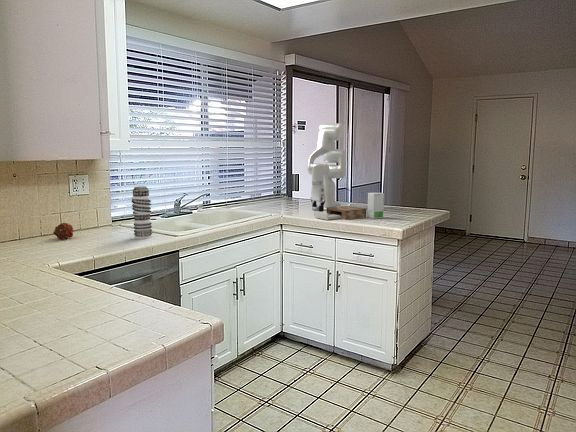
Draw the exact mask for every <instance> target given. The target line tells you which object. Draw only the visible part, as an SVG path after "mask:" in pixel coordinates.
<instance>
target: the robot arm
mask: <svg viewBox="0 0 576 432" xmlns="http://www.w3.org/2000/svg"><path fill="white" fill-rule="evenodd" d="M344 127H345V126H344V124H342V123H341V122H339V123H334V122H333V123H321V124H320V125H318V134H317V135H318V136H317V144H316V149H315V150H314V151H313V152H312V153H311V155H310V156H309V158H308V160H307V161H308V162H307V173H308V175H311V193H310V194H311V195H310V197H309V198H310V201H311V204H312V205H311V207H312V209H311V210H312V211H313V207H316V206H319V212H324V211H327V207H338V206H341V203H339V202H338V203H337V202H336V182H335V181H334V180H333V179H343V178H345V177H346V171H347V170H346V169H347V168H346V166H347V165H346V164H347V163H346V162H347V154H346V151H345V150H344V149H342V148H341V149H340V148H336V141H339V140H340V139H341V138H342V136H343V135H344V132H345V131H344V130H345V128H344ZM321 156H322V158H323V162H324V163H320V162H319V163H314V162H315V160H316V159H318V158H320V157H321ZM317 204H319V205H317Z"/></svg>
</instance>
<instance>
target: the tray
mask: <svg viewBox="0 0 576 432" xmlns="http://www.w3.org/2000/svg"><path fill="white" fill-rule="evenodd" d="M314 218H316V219H321V220H324V221H329V220H337V219H342V215H337V214H328V213H327V212H324V211H323V212H319V211H314Z"/></svg>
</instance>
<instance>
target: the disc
mask: <svg viewBox="0 0 576 432" xmlns="http://www.w3.org/2000/svg"><path fill="white" fill-rule="evenodd" d="M319 206H320V205H317V206H316V207H313V210H312V211H313V212H315V211H319Z"/></svg>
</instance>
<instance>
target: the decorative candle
mask: <svg viewBox="0 0 576 432" xmlns="http://www.w3.org/2000/svg"><path fill="white" fill-rule="evenodd" d="M149 191H150V188H148V187H147V186H140V185H139V186H134V187H133V189H132V198H131V201H130V202H131V203H132V205H131V206H132V207H131V209H132V210H133V211H132V214H133V216H134V217H133V218H134V219H133V226H134V227H133V229H134V230H133V236H134V239H138V240H139V239H142V240H143V239H149V238H152V237H153V229H152V227H153V226H152V224H153V223H152V219H151V214H152V207H151V205H152V203H151V202H152V200H151V199H150V198H151V197H150V192H149Z"/></svg>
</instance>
